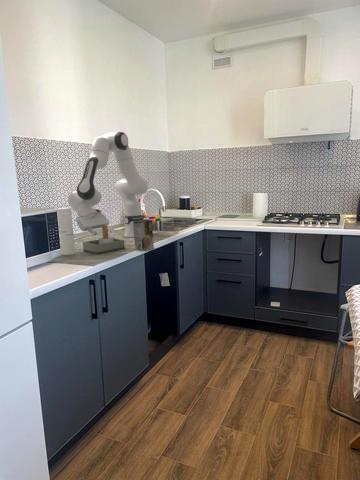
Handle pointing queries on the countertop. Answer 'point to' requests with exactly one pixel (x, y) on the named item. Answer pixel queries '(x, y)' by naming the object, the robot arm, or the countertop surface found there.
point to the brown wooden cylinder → (105, 231)
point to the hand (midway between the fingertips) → (101, 233)
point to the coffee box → (143, 235)
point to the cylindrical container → (66, 231)
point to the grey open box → (103, 245)
